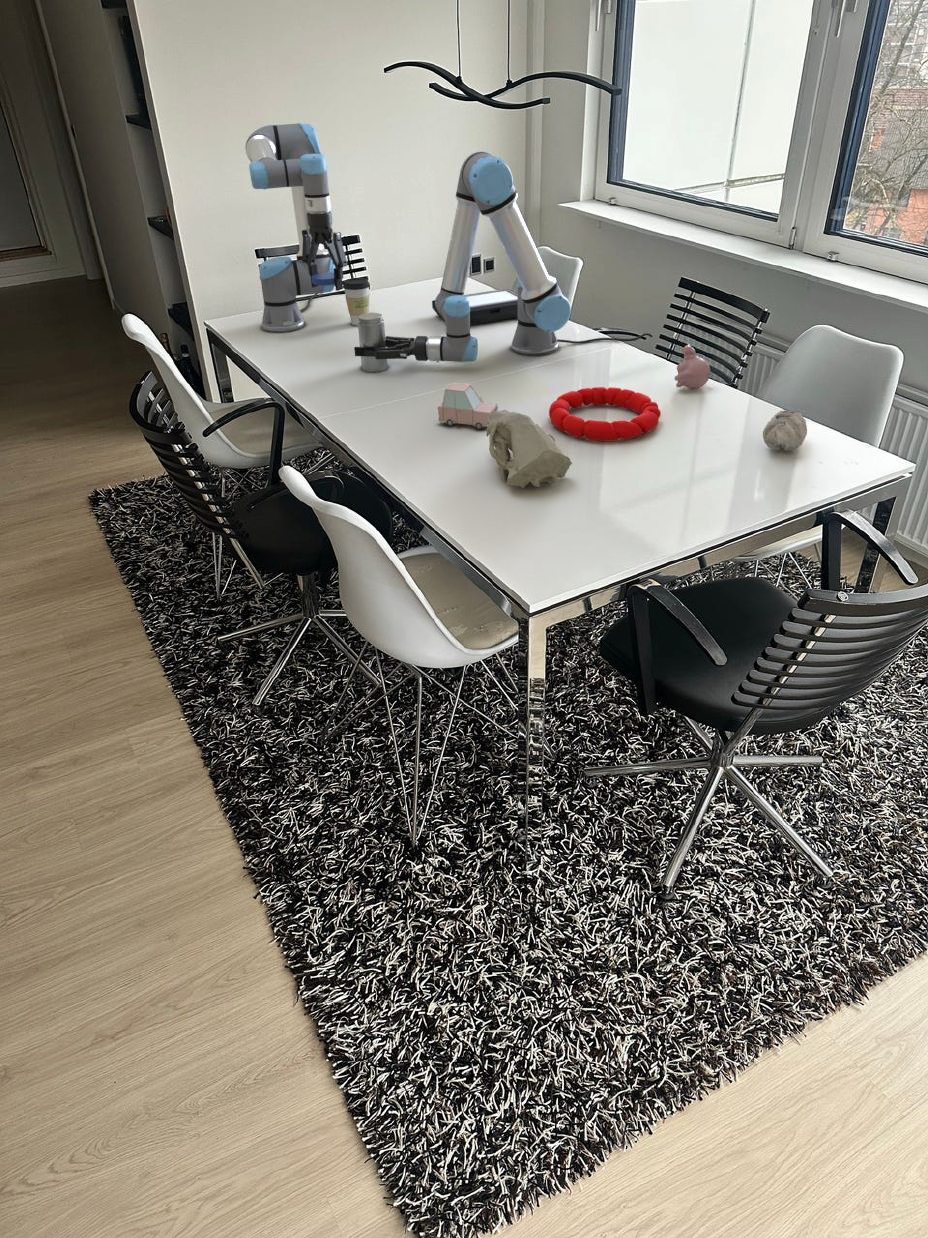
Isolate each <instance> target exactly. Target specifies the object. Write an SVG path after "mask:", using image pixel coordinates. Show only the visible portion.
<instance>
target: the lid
mask: <svg viewBox="0 0 928 1238" xmlns="http://www.w3.org/2000/svg"><path fill="white" fill-rule="evenodd" d="M312 283H313V284H315V285H322V286H325V285H334V284H335V278H334V273H332V272H327V273H319V274H315V275H313V276H312ZM334 286H335V285H334Z"/></svg>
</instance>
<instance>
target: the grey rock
mask: <svg viewBox="0 0 928 1238" xmlns="http://www.w3.org/2000/svg"><path fill="white" fill-rule="evenodd" d="M485 436H486V438H487V437H489V438H488V440H489V444H488V445H489V446H488V450H489V454H490V456H491V457H492V458H493V459H494V460H495V462H496V464H497V466H499V468H500V470H501V471H502V472H501V478H502V479H507V480H506V484H507V486H517V487H518V486H519V488H523V489H524V488H526V486H527V485H529V483H531V485H533V486H534V487H536V488H540V485H541V484H542V482H544V483H549V484H550V485H553V484H555V483H556V482H557V480H561V479H563V478H565V476H566V474H567V472H568V471H569V469H570V467H571V466H572V464H573V462H572V461H571V458H570V457H568V456H567V455H565V453H564V451H562V449H561V448H560V446H559V444H557V443H556V439H555V438H554V436H553V435H551V434H550V433H548V432H547V431H546V430H545V429H544V428H542V427H541V426H539V425H538V424H537V423H536V424H535V422H534V421H533V419H532V418H531V417H530V416H529V415H527V414H524V413H519V412H515V411H509V410H507V409H502V410H500V411H499V410H497V411H496V412H492V413H491V414H490V422H488V423H487V427H486V435H485ZM511 453H512V454H511ZM511 455H512V457H513V458H512V460H511ZM507 474H508V475H507Z"/></svg>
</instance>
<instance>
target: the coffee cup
mask: <svg viewBox="0 0 928 1238" xmlns="http://www.w3.org/2000/svg"><path fill="white" fill-rule="evenodd" d="M342 284H343V290H344V297H345V301H346V305H347V310H348V314H349V318H350V323H351V325H353V326H357V327H358V321H359V319H358V316H359V315H361V314H364V313H370V287H371V283H370V282H369V279H367V278H365V277H351V278H347V279H345V280H344V281H343V283H342Z"/></svg>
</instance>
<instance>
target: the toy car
mask: <svg viewBox="0 0 928 1238" xmlns="http://www.w3.org/2000/svg"><path fill="white" fill-rule="evenodd" d="M498 409H499V404H498V403H497V402H490V401H489V402H487V401H483V397H481V396H480V395H479V394H478V393H477V391H476V390H475V389H474V386H472V384H469V383H459V382H451V383H450V384H449V385H448V386H447V387H446V388H445V389H444V394H443V399H442V403H440V404H439V405H438V406H437V413H438V421H439V422H443V423H446V425H447V426H448V427H452V426H454V425H455V424H461V425H469V426H473V427H475V429H476V430H479V431H480V430H481V429H483V428H485V427H486V428H487V423H488V422H490V414H491V413H492V412H496V411H499V410H498Z"/></svg>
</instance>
